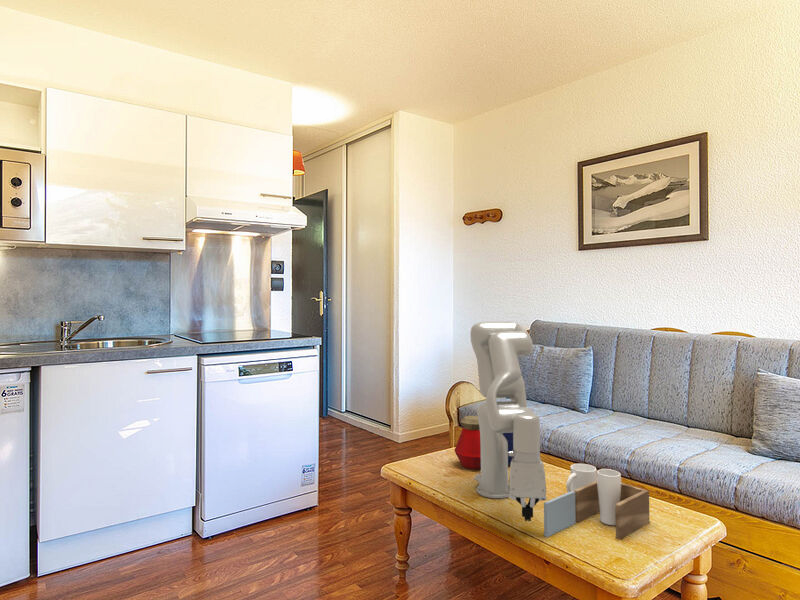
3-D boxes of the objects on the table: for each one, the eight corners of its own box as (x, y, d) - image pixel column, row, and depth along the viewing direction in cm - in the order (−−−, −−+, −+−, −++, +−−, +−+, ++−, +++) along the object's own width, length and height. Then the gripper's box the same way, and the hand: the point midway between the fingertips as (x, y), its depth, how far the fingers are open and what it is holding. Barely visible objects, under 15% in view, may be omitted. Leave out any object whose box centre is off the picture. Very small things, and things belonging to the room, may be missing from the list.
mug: (576, 506, 159) (576, 475, 159) (557, 497, 166) (557, 467, 166) (602, 499, 164) (601, 469, 164) (582, 491, 172) (582, 462, 172)
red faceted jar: (498, 466, 199) (498, 417, 199) (479, 475, 189) (478, 423, 189) (467, 458, 210) (466, 411, 210) (447, 465, 200) (447, 417, 200)
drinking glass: (610, 528, 143) (609, 477, 143) (592, 519, 149) (591, 470, 149) (626, 524, 145) (626, 474, 146) (608, 515, 152) (608, 467, 152)
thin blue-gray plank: (572, 522, 147) (572, 490, 147) (575, 523, 147) (575, 491, 147) (544, 536, 139) (543, 502, 139) (547, 537, 138) (546, 503, 138)
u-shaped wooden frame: (574, 521, 148) (573, 490, 148) (604, 506, 158) (604, 477, 158) (619, 539, 136) (619, 505, 136) (649, 522, 147) (649, 490, 147)
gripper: (501, 459, 139) (502, 523, 139) (555, 461, 137) (556, 526, 137) (499, 451, 147) (500, 512, 146) (550, 453, 145) (551, 515, 144)
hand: (527, 519), depth 142 cm, fingers closed
